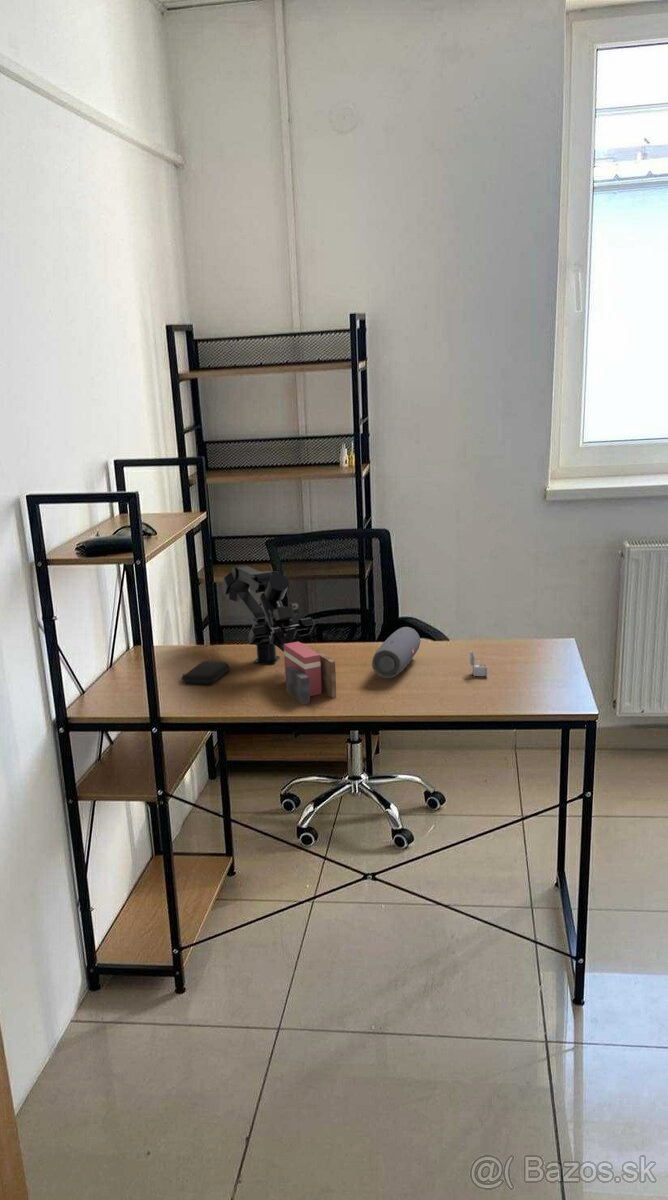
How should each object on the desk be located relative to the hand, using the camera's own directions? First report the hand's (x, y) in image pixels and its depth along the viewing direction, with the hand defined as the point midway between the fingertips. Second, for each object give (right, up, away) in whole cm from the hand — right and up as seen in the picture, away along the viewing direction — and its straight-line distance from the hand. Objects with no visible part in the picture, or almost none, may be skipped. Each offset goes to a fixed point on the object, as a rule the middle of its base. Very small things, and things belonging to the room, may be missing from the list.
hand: (291, 656), depth 252 cm
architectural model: (+55, -5, +4) cm, 55 cm away
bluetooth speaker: (+30, -4, +7) cm, 31 cm away
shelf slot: (+6, -9, -10) cm, 15 cm away
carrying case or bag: (-25, -7, +7) cm, 27 cm away
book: (+4, -8, -5) cm, 10 cm away
